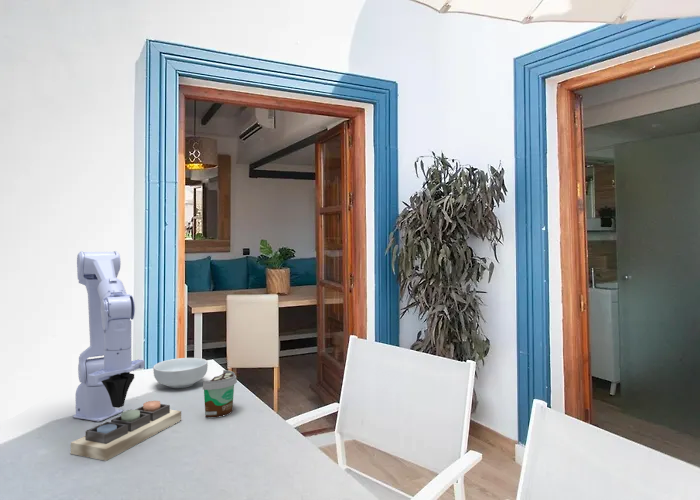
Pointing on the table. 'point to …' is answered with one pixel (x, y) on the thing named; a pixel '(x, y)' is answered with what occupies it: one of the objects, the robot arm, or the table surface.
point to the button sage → (130, 415)
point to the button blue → (107, 428)
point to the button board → (124, 433)
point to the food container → (219, 394)
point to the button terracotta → (151, 406)
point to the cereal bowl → (180, 372)
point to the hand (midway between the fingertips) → (118, 406)
